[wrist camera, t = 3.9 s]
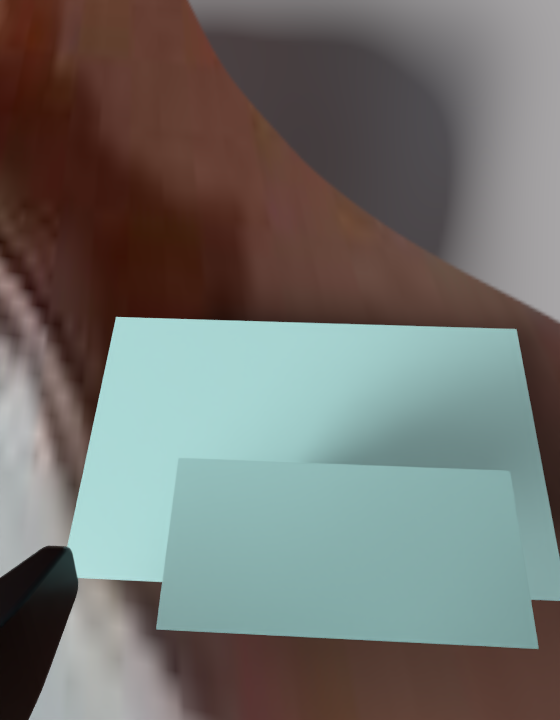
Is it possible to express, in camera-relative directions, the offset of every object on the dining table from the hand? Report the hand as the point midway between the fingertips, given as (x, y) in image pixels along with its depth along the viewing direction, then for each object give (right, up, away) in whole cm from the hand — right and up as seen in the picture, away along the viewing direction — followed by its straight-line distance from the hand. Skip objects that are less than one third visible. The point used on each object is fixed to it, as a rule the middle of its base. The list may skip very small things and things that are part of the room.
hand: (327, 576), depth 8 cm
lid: (0, +1, +8) cm, 8 cm away
